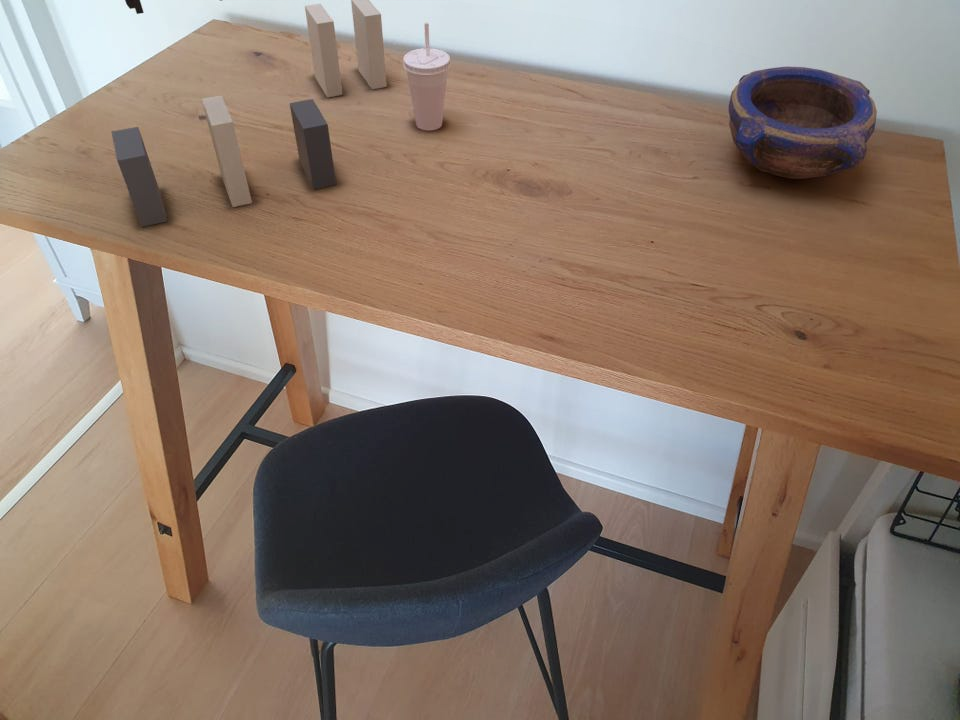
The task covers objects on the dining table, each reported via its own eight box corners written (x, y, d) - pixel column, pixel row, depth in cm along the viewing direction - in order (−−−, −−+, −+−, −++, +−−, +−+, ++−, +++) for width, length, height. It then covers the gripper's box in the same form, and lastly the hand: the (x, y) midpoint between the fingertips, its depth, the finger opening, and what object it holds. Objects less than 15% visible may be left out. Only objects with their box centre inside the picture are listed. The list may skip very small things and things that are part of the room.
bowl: (706, 184, 99) (724, 113, 92) (725, 121, 111) (742, 53, 104) (851, 213, 95) (882, 140, 88) (855, 144, 107) (882, 75, 100)
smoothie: (456, 116, 111) (455, 18, 101) (444, 137, 107) (442, 37, 97) (414, 111, 112) (408, 13, 102) (401, 132, 108) (394, 32, 98)
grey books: (141, 227, 92) (117, 160, 85) (135, 196, 96) (111, 131, 90) (336, 184, 98) (327, 120, 92) (321, 158, 103) (312, 94, 96)
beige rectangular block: (232, 207, 95) (211, 125, 87) (222, 178, 99) (201, 98, 91) (252, 203, 95) (232, 121, 87) (241, 175, 100) (221, 95, 92)
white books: (327, 97, 115) (317, 23, 107) (315, 78, 119) (304, 5, 112) (386, 86, 118) (381, 13, 110) (372, 68, 122) (366, -4, 114)
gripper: (203, -194, 74) (240, -18, 86) (45, -181, 70) (106, 2, 81) (219, -179, 69) (255, 6, 81) (50, -164, 65) (114, 29, 77)
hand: (180, 4), depth 81 cm, fingers open, 8 cm apart
